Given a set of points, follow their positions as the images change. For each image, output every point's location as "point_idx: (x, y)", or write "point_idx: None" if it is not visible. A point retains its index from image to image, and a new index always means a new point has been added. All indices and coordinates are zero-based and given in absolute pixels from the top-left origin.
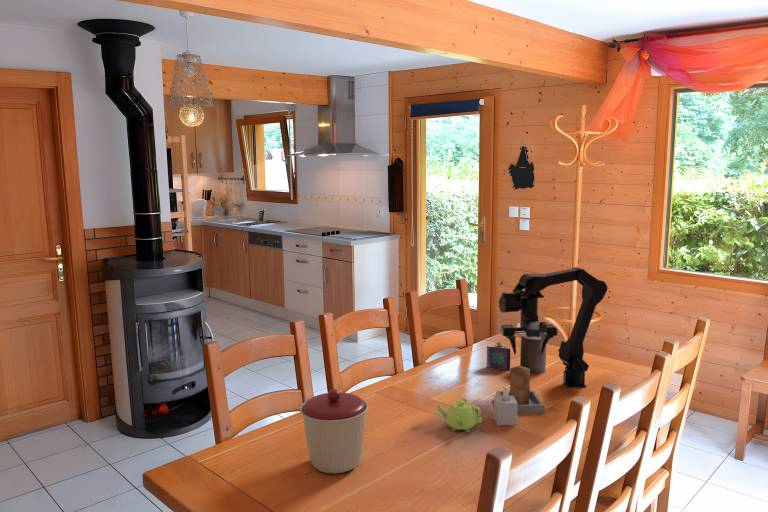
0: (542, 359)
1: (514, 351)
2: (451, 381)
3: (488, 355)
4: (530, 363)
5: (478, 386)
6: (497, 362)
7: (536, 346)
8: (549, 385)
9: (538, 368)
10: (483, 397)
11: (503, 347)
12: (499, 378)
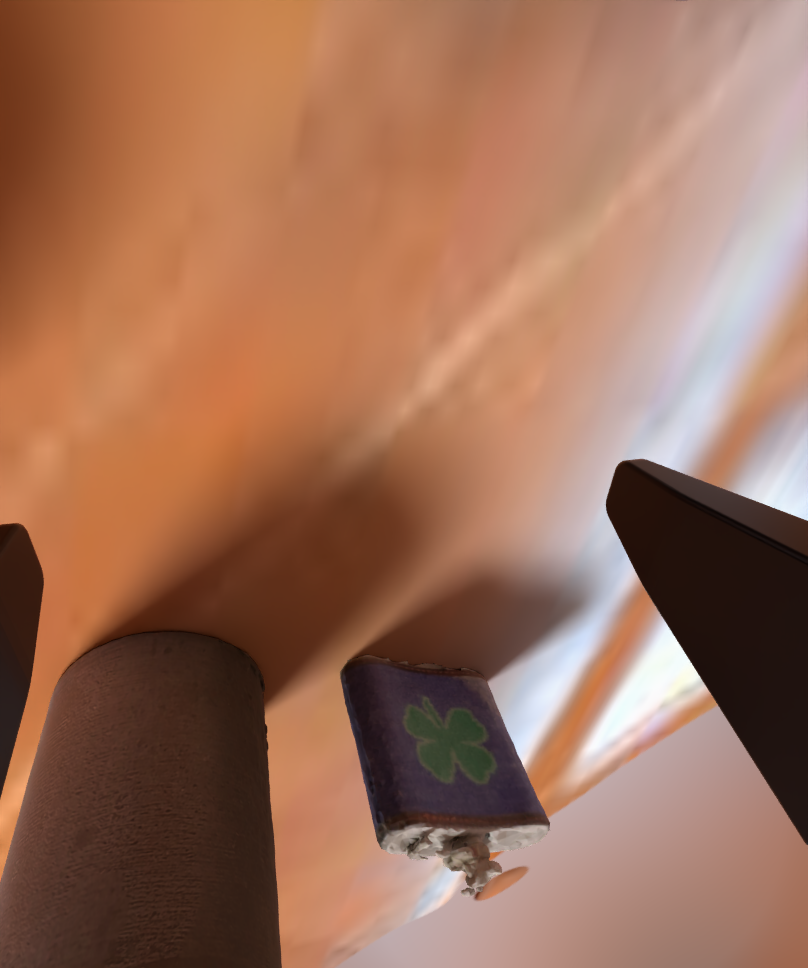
0: (59, 768)
1: (698, 480)
2: (799, 444)
3: (514, 752)
4: (190, 707)
5: (681, 354)
6: (439, 709)
7: (111, 904)
8: (9, 390)
9: (114, 676)
10: (776, 59)
11: (432, 839)
12: (462, 521)
